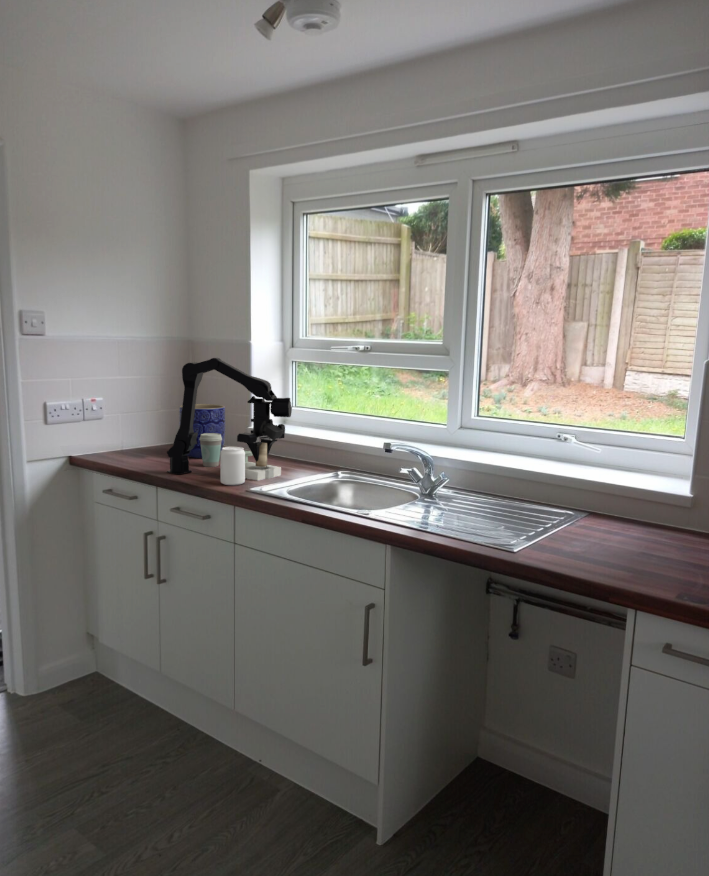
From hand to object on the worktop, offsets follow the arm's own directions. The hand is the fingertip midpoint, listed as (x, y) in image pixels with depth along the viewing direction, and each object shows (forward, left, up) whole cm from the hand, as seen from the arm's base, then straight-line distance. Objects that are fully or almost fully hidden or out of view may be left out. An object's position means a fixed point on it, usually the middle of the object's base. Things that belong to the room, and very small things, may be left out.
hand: (261, 460), depth 242 cm
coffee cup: (-28, +2, -6) cm, 29 cm away
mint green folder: (-11, +1, -6) cm, 12 cm away
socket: (-4, 0, -6) cm, 7 cm away
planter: (-46, +14, -6) cm, 48 cm away
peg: (0, 0, -2) cm, 2 cm away
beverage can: (+1, -15, -6) cm, 16 cm away
